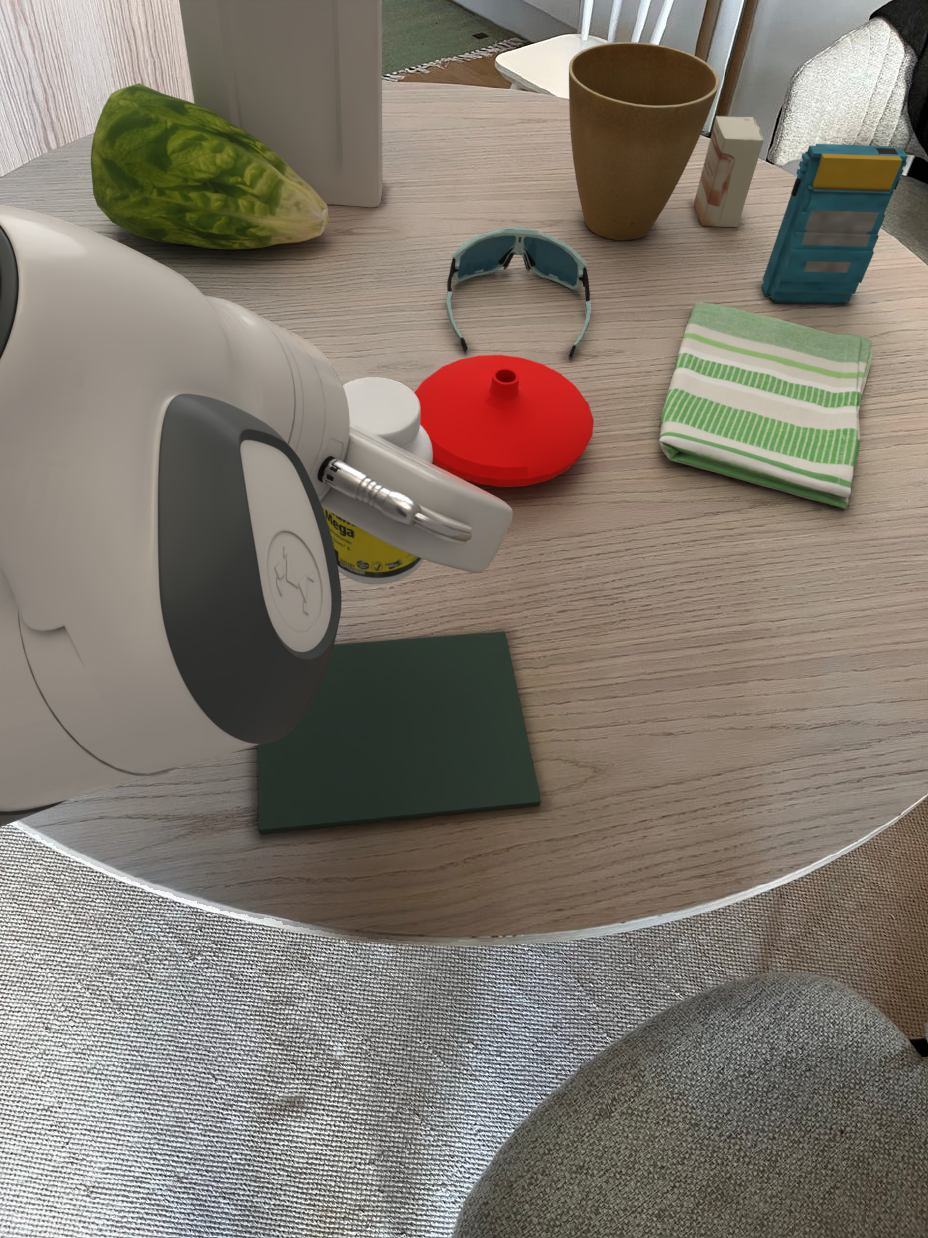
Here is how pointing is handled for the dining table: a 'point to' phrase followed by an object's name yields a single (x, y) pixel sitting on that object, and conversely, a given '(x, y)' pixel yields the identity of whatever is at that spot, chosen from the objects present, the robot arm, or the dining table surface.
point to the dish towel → (767, 402)
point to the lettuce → (195, 177)
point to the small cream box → (728, 170)
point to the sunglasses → (538, 255)
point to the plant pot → (634, 130)
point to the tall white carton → (297, 84)
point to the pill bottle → (397, 421)
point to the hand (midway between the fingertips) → (381, 470)
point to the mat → (402, 737)
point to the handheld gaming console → (832, 222)
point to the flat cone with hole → (503, 420)
